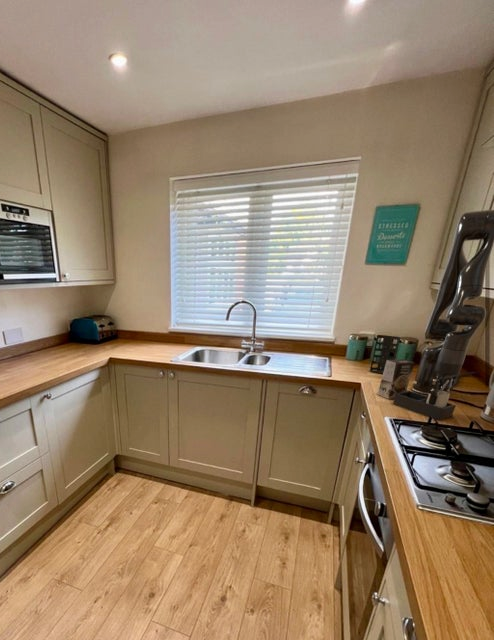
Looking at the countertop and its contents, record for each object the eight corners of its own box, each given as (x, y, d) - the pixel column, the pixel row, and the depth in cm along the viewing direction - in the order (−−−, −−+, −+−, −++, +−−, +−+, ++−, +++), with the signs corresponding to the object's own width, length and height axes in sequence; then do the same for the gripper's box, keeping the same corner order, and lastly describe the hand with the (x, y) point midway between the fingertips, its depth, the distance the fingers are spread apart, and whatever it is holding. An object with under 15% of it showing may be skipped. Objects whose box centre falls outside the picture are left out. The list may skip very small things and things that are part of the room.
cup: (429, 407, 133) (435, 388, 130) (446, 412, 128) (453, 393, 125) (420, 409, 130) (426, 390, 127) (437, 415, 125) (444, 396, 122)
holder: (370, 372, 179) (379, 335, 174) (367, 370, 186) (375, 334, 181) (393, 375, 176) (402, 337, 171) (389, 372, 183) (398, 336, 178)
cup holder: (405, 400, 142) (408, 390, 140) (452, 416, 128) (455, 405, 126) (392, 404, 138) (395, 393, 136) (439, 420, 124) (443, 409, 122)
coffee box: (388, 399, 143) (398, 363, 137) (376, 394, 148) (385, 359, 142) (405, 397, 145) (415, 362, 139) (393, 392, 151) (402, 358, 145)
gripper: (451, 365, 115) (436, 409, 121) (472, 361, 121) (457, 403, 128) (428, 360, 121) (415, 402, 128) (449, 356, 128) (435, 396, 134)
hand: (436, 402), depth 128 cm, fingers closed on cup, 6 cm apart
